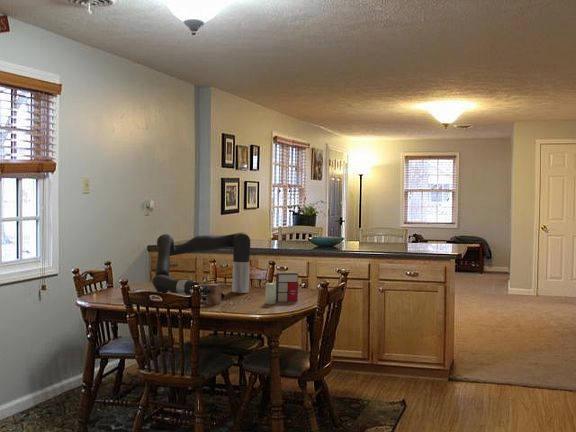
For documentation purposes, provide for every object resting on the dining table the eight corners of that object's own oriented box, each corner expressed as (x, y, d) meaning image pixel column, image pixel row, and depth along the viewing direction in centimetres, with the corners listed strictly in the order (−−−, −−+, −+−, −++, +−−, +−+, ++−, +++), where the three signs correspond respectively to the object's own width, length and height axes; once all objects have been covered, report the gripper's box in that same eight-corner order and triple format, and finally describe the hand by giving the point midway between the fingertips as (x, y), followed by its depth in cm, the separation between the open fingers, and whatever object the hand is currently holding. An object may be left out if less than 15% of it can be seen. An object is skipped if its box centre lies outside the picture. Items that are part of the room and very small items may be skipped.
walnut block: (206, 304, 325) (207, 284, 324) (212, 303, 329) (212, 283, 329) (215, 305, 322) (216, 285, 322) (220, 304, 327) (221, 284, 326)
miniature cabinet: (277, 303, 338) (278, 274, 337) (275, 301, 342) (276, 272, 341) (297, 302, 340) (298, 273, 340) (295, 301, 345) (296, 272, 344)
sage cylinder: (264, 302, 333) (265, 282, 332) (274, 302, 333) (275, 283, 333) (265, 304, 328) (265, 284, 327) (275, 304, 328) (275, 284, 328)
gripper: (195, 293, 339) (222, 296, 332) (179, 296, 326) (206, 300, 319) (195, 278, 338) (222, 281, 331) (179, 281, 326) (207, 284, 318)
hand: (214, 290), depth 325 cm, fingers open, 8 cm apart
